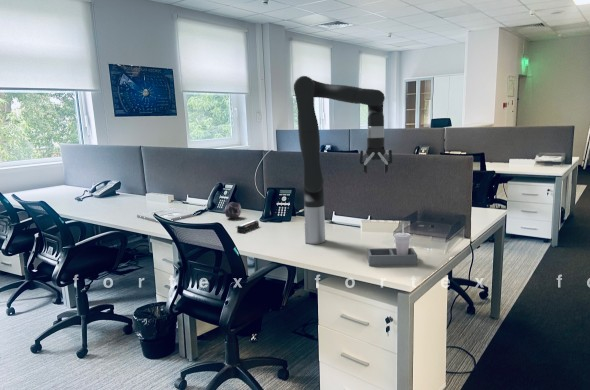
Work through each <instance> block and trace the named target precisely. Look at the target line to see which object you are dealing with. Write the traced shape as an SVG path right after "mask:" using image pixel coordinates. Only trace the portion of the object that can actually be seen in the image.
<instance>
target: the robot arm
mask: <svg viewBox="0 0 590 390" xmlns="http://www.w3.org/2000/svg"><path fill="white" fill-rule="evenodd" d="M293 92H294V96H295V97H294V98H295V99H296V100H295V101H296V105H297V107H296V108H297V129H298V140H299V148H300V153H301V158H302V161H303V162H302V163H303V178H302V179H303V180H302V184H303V188H302V189H303V206H304V207H303V208H304V210H303V211H304V240H305V244H311V245H313V244H314V245H315V244H316V245H319V244H323V243H325V242H326V225H325V224H326V221H325V196H324V176H323V173H322V172H323V171H322V169H321V160H320V158H321V138H320V137H321V136H320V129H319V128H320V127H319V123H318V119H317V115H316V111H315V98H321V99H329V100H333V101H334V100H335V101H338V102H343V103H350V104H357V105H358V104H361V105H365V106H367V129H366V144H367V145H366V150H363V149H360V150H359V158H358V159H359V162H358V163H359V164H360V165H363V168H362V169H363V173H364V174H367V173H368V172H367V171H368V165H367V164H368V163H369V162H370V160H372V161H375V160H377V161H379V160H381V161H382V162H383V163H384V165H383V169H384V170H383V173H384V174H387V172H389V171H388V169H389V165H390V164H392V163H393V150H392V149H390V148H389V149H385V114H384V101H385V99H386V98H385V94H384V93H383V91H381V90H378V89H373V88H362V87H358V86H353V85H343V84H331V83H324V82H320V81H317V80H314V79H312V78H311V77H310V76H307V75H302V76H299V77H297V78H296V80H295V82H294V84H293ZM365 154H366V155H367V157H366V158H365V160H364V161H363V159H364V156H365ZM385 154H387V156H388V160H387V159H386V158H385V157H384V155H385Z"/></svg>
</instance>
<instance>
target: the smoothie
mask: <svg viewBox="0 0 590 390" xmlns="http://www.w3.org/2000/svg"><path fill="white" fill-rule="evenodd" d="M401 228H402V230H401V231H402V232H396V233H394V234H393V238H394V241H395V248H396V250H397V255H408V248H410V239H411V238H412V236H411V234H410V233H408V232H405V224H404V223H402V227H401Z"/></svg>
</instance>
